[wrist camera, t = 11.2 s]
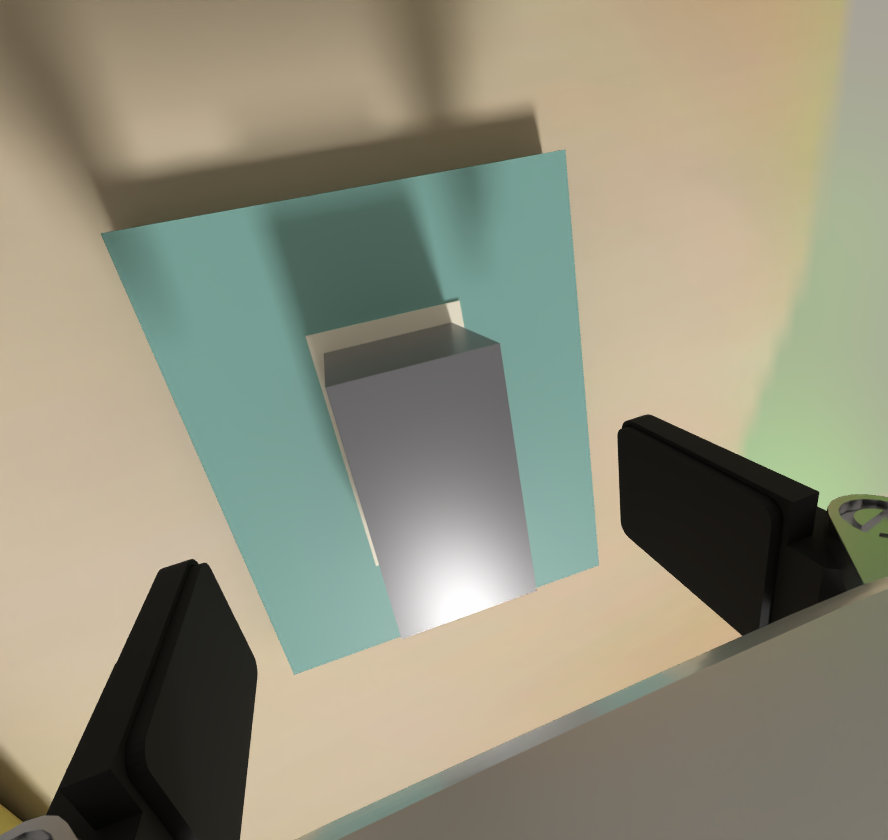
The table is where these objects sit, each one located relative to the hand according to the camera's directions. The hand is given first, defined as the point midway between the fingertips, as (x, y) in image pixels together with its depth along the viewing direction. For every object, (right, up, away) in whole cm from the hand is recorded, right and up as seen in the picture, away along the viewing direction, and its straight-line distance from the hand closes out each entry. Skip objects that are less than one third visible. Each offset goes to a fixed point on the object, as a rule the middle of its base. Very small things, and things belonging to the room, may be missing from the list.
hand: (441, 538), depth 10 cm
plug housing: (-1, +2, +7) cm, 7 cm away
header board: (-1, +2, +8) cm, 8 cm away
